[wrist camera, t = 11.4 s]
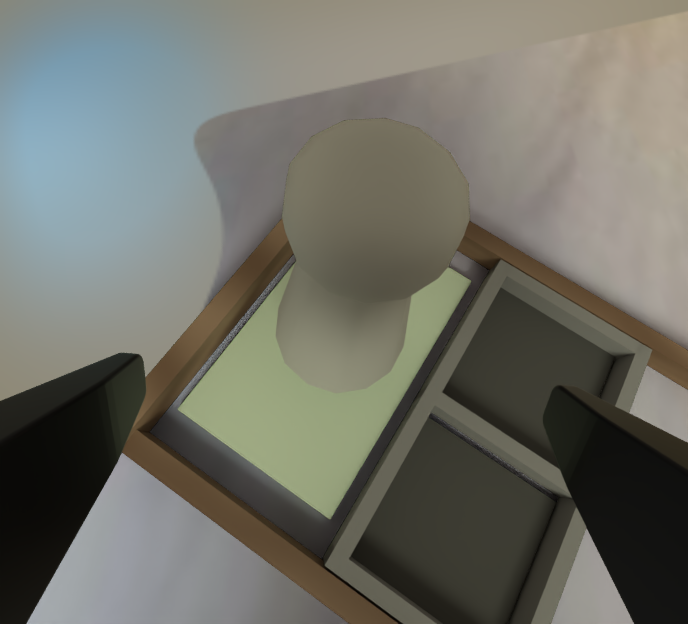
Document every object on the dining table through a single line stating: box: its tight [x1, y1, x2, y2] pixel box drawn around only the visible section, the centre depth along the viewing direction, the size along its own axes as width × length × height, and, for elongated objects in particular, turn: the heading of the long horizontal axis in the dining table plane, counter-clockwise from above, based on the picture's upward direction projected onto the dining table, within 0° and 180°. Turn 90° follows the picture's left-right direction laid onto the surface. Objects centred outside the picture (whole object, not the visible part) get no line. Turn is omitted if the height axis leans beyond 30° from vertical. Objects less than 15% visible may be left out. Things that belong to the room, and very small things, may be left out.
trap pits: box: [323, 260, 652, 624], centre depth 19 cm, size 17×9×2 cm, turn 147°
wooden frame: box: [122, 219, 688, 624], centre depth 19 cm, size 19×30×2 cm, turn 57°
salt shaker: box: [276, 118, 470, 393], centre depth 15 cm, size 6×6×13 cm
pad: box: [177, 263, 472, 519], centre depth 21 cm, size 14×8×1 cm, turn 147°
